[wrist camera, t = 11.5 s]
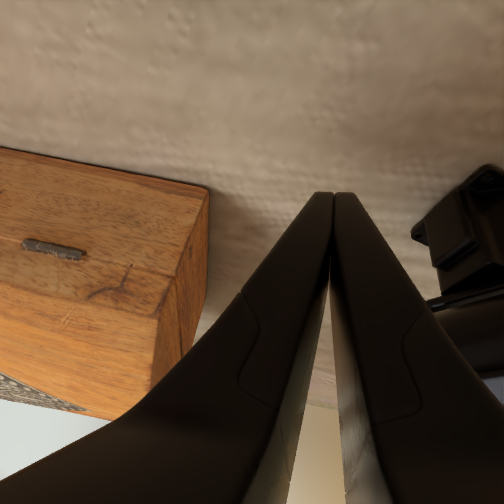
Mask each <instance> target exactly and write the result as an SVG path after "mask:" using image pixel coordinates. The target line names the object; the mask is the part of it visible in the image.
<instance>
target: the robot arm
mask: <svg viewBox="0 0 504 504" xmlns="http://www.w3.org/2000/svg"><path fill="white" fill-rule="evenodd" d="M486 173H490V174H489V175H488V176H484V175H485V174H486ZM410 233H411V238H412V239H413V240H415V241H417V242H420V243H422V244H424V245H426V246H429V250H430V256H431V261H432V266H433V267H435V268H436V269H437V274H438V279H439V285H440V290H441V295H442V296H440V297H437V298H433V299H430V300H427V301H425V300H424V299H423V297H422V296H421V294H420V293H419V291H418V290H417V288H416V287H415V285H414V283H413V282H412V280H411V279H410V277H409V276H408V274H407V273H406V271H405V270H404V268H403V267H402V265H401V264H400V262H399V261H398V259H397V257H396V256H395V254H394V253H393V251H392V250H391V248H390V247H389V245H388V244H387V242H386V241H385V239H384V238H383V236H382V234H381V233H380V231H379V230H378V228H377V227H376V225H375V224H374V222H373V221H372V219H371V218H370V216H369V215H368V213H367V211H366V210H365V208H364V207H363V205H362V204H361V202H360V201H359V199H358V198H357V196H356V195H355V194H354V193H352V192H337V193H335V195H334V193H333V192H315V193H314V194H313V195H312V197H311V198H310V199H309V201H308V202H307V203H306V204H305V206H304V207H303V208H302V210H301V211H300V212H299V214H298V215H297V216H296V218H295V219H294V220H293V222H292V223H291V224H290V226H289V227H288V228H287V230H286V231H285V232H284V233H283V235H282V236H281V237H280V239H279V240H278V241H277V243H276V244H275V245H274V247H273V248H272V249H271V251H270V252H269V253H268V255H267V256H266V257H265V259H264V260H263V261H262V263H261V264H260V265H259V266H258V268H257V269H256V270H255V272H254V273H253V274H252V276H251V277H250V278H249V280H248V281H247V282H246V284H245V285H244V286H243V288H242V289H241V292H239V293H238V294H237V295H236V297H235V298H234V299H233V301H232V302H231V303H230V304H229V306H228V307H227V308H226V310H225V311H224V312H223V313H222V314H221V316H220V317H219V318H218V319H217V321H216V322H215V323H214V324H213V325H212V326H211V328H210V329H209V330H208V331H207V332H206V333H205V334H204V335H203V336H202V337H201V338H200V339H199V341H198V342H197V343H196V344H195V345H194V346H193V347H192V348H191V349H190V350H189V351H188V352H187V353H186V354H185V355H184V356H183V357H182V358H181V359H180V360H179V361H178V362H177V363H176V364H175V366H174V367H173V368H172V369H171V370H170V371H169V372H168V373H167V374H166V375H165V376H164V377H163V378H162V379H161V380H160V381H159V382H158V383H157V384H156V385H155V386H154V387H153V388H152V389H151V390H150V391H149V392H148V393H147V394H146V395H145V396H144V397H143V398H142V399H141V400H140V401H139V402H138V403H137V404H135V405H134V406H133V407H132V408H131V409H129V410H128V411H127V412H125V413H124V414H123V415H121V416H120V417H118V418H117V419H115V420H114V421H112V422H111V423H109V424H107V425H105V426H103V427H101V428H100V429H98V430H96V431H94V432H92V433H90V434H88V435H86V436H84V437H82V438H80V439H79V440H77V441H75V442H73V443H71V444H69V445H67V446H65V447H63V448H62V449H60V450H58V451H56V452H54V453H52V454H50V455H49V456H46V457H45V458H43V459H41V460H39V461H37V462H35V463H33V464H31V465H29V466H27V467H25V468H24V469H22V470H20V471H18V472H16V473H14V474H12V475H10V476H8V477H7V478H5V479H3V480H1V481H0V504H286V502H287V496H288V491H289V486H290V483H289V482H290V480H291V476H292V471H293V465H294V461H295V456H296V450H297V445H298V440H299V435H300V430H301V425H302V420H303V415H304V409H305V405H306V400H307V395H308V389H309V384H310V379H311V374H312V369H313V364H314V359H315V354H316V349H317V344H318V339H319V333H320V328H321V323H322V318H323V313H324V308H325V303H326V298H327V292H328V285H329V294H330V308H331V321H332V333H333V346H334V359H335V371H336V384H337V397H338V410H339V422H340V434H341V447H342V459H343V473H344V485H345V492H346V494H345V499H346V504H504V171H503V170H501V169H499V168H497V167H495V166H492V165H486V166H483V167H481V168H479V169H478V170H477V171H476V172H475V173H474V174H473V175H471V176H470V177H469V178H468V179H467V180H466V181H465V182H464V183H463V184H461V185H460V186H459V187H458V188H457V189H456V190H455V191H453V192H451V193H450V194H449V195H448V196H447V197H446V198H445V199H444V200H442V201H441V202H440V203H439V204H438V205H437V206H436V207H435V208H434V209H432V210H431V211H430V212H429V213H428V214H427V215H426V216H425V217H424V218H423V219H422V220H421V221H420V222H419V223H418V224H417V225H416V226H415V227H413V228H412V230H411V232H410ZM417 233H420V234H417ZM329 273H330V276H329Z"/></svg>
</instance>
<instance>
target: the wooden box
mask: <svg viewBox="0 0 504 504" xmlns="http://www.w3.org/2000/svg"><path fill="white" fill-rule="evenodd" d="M208 213H209V195H208V190H206V189H204V188H200V187H196V186H191V185H186V184H182V183H177V182H172V181H167V180H162V179H157V178H152V177H147V176H141V175H133V174H130V173H126V172H121V171H116V170H111V169H106V168H101V167H95V166H90V165H85V164H79V163H74V162H69V161H65V160H60V159H54V158H49V157H45V156H40V155H36V154H31V153H25V152H20V151H15V150H10V149H4V148H0V399H5V400H8V401H13V402H20V403H25V404H29V405H35V406H41V407H45V408H52V409H58V410H62V411H67V412H72V413H77V414H82V415H86V416H91V417H96V418H100V419H105V420H109V421H114V420H115V419H117V418H118V417H120V416H121V415H123V414H124V413H125V412H127V411H128V410H129V409H131V408H132V407H133V406H134V405H135V404H137V403H138V402H139V401H140V400H141V399H142V398H143V397H144V396H145V395H146V394H147V393H148V392H149V391H150V390H151V389H152V388H153V387H154V386H155V385H156V384H157V383H158V382H159V381H160V380H161V379H162V378H163V377H164V376H165V375H166V374H167V373H168V372H169V371H170V370H171V369H172V368H173V367H174V366H175V364H176V363H177V362H178V361H179V360H180V359H181V358H182V357H183V356H184V355H185V354H186V353H187V352H188V351H189V350H190V349H191V348H192V345H193V341H194V337H195V333H196V329H197V326H198V323H199V319H200V316H201V312H202V308H203V305H204V301H205V297H206V288H207V257H208V227H209V225H208Z"/></svg>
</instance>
